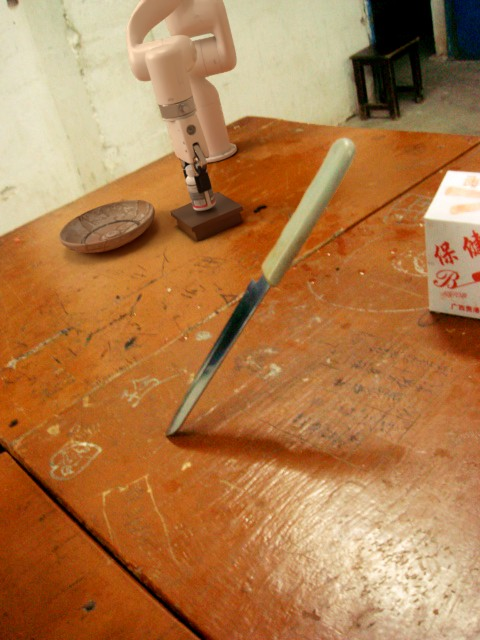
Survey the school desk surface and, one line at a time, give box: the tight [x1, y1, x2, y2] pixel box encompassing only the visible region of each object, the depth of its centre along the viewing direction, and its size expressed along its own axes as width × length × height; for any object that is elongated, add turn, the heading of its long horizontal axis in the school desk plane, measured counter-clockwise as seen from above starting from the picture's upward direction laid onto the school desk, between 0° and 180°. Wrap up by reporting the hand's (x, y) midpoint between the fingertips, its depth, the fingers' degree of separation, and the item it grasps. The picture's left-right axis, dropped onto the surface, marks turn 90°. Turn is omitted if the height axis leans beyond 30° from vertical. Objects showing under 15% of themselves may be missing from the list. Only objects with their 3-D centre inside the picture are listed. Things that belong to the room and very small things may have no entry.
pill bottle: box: [184, 163, 216, 211], centre depth 144 cm, size 5×5×10 cm
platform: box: [169, 191, 244, 242], centre depth 148 cm, size 13×13×4 cm
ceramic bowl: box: [58, 199, 156, 254], centre depth 153 cm, size 23×24×5 cm
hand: (199, 186), depth 144 cm, fingers closed on pill bottle, 5 cm apart
